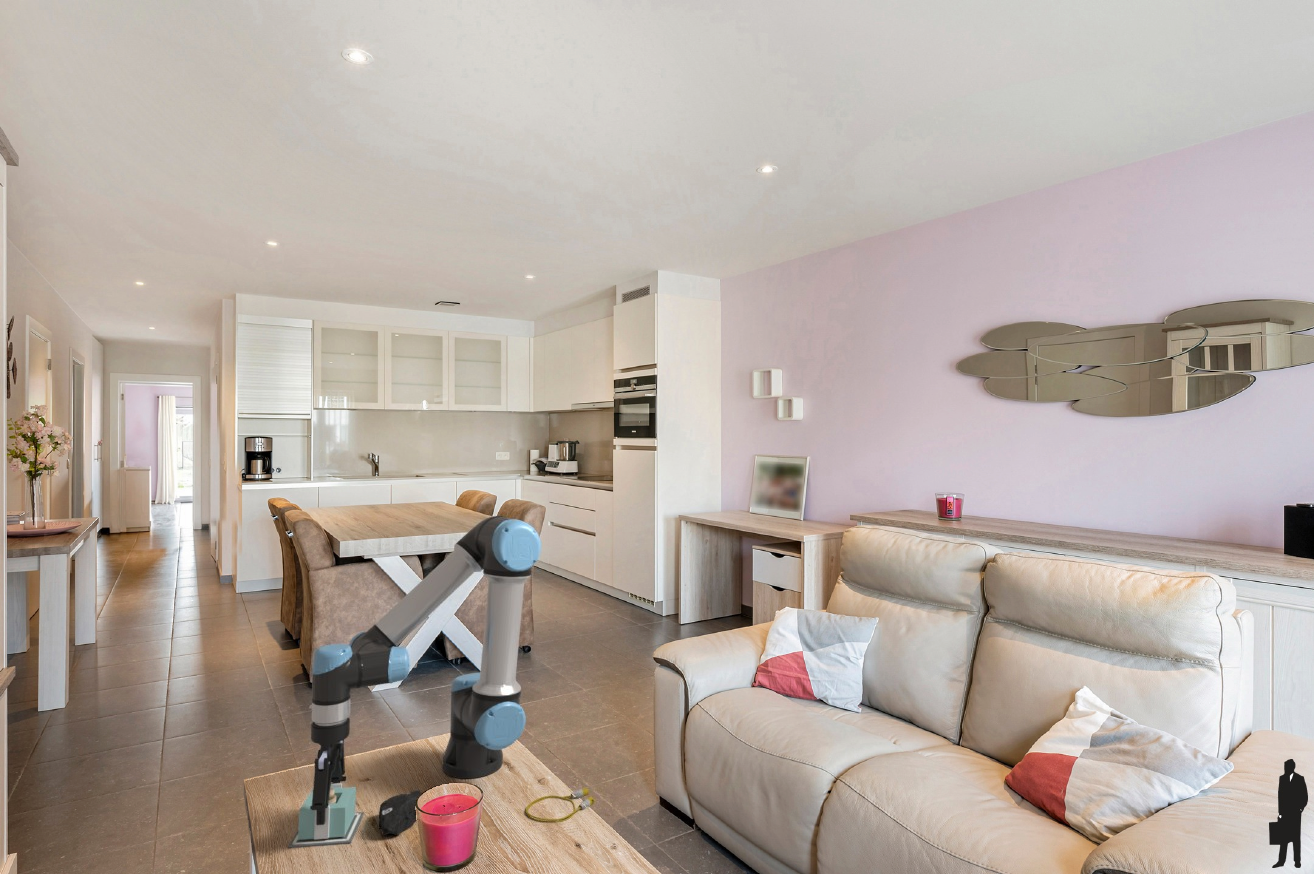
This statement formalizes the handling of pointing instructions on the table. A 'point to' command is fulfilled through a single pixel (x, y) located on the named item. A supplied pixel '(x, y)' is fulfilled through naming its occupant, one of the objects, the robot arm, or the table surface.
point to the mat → (330, 841)
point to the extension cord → (577, 793)
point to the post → (332, 796)
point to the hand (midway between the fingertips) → (328, 825)
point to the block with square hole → (339, 814)
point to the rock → (398, 813)
